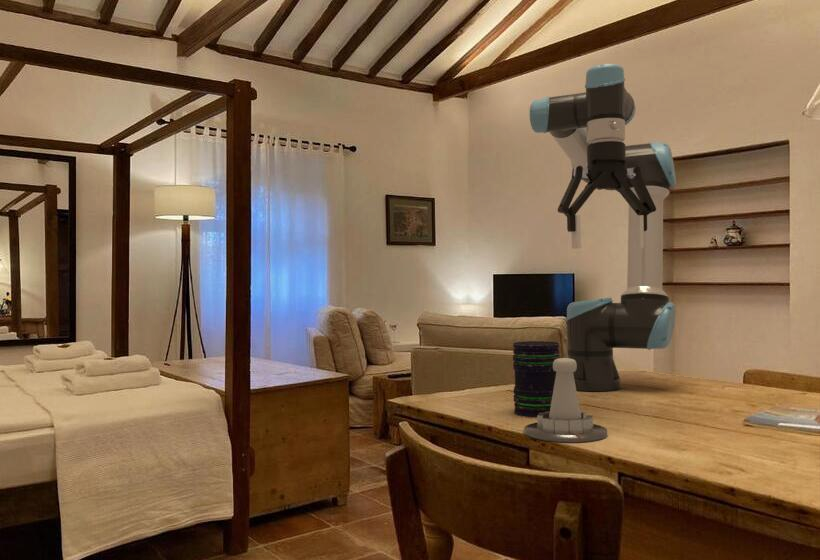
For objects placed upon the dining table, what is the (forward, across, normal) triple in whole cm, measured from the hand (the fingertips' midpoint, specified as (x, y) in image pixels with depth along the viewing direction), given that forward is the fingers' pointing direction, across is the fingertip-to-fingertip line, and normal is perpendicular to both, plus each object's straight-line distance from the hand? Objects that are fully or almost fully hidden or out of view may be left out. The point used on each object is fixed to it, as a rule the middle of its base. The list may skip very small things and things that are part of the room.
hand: (607, 248), depth 140 cm
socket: (+35, -14, -10) cm, 39 cm away
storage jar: (+35, -12, +10) cm, 38 cm away
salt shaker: (+34, -14, -10) cm, 38 cm away
